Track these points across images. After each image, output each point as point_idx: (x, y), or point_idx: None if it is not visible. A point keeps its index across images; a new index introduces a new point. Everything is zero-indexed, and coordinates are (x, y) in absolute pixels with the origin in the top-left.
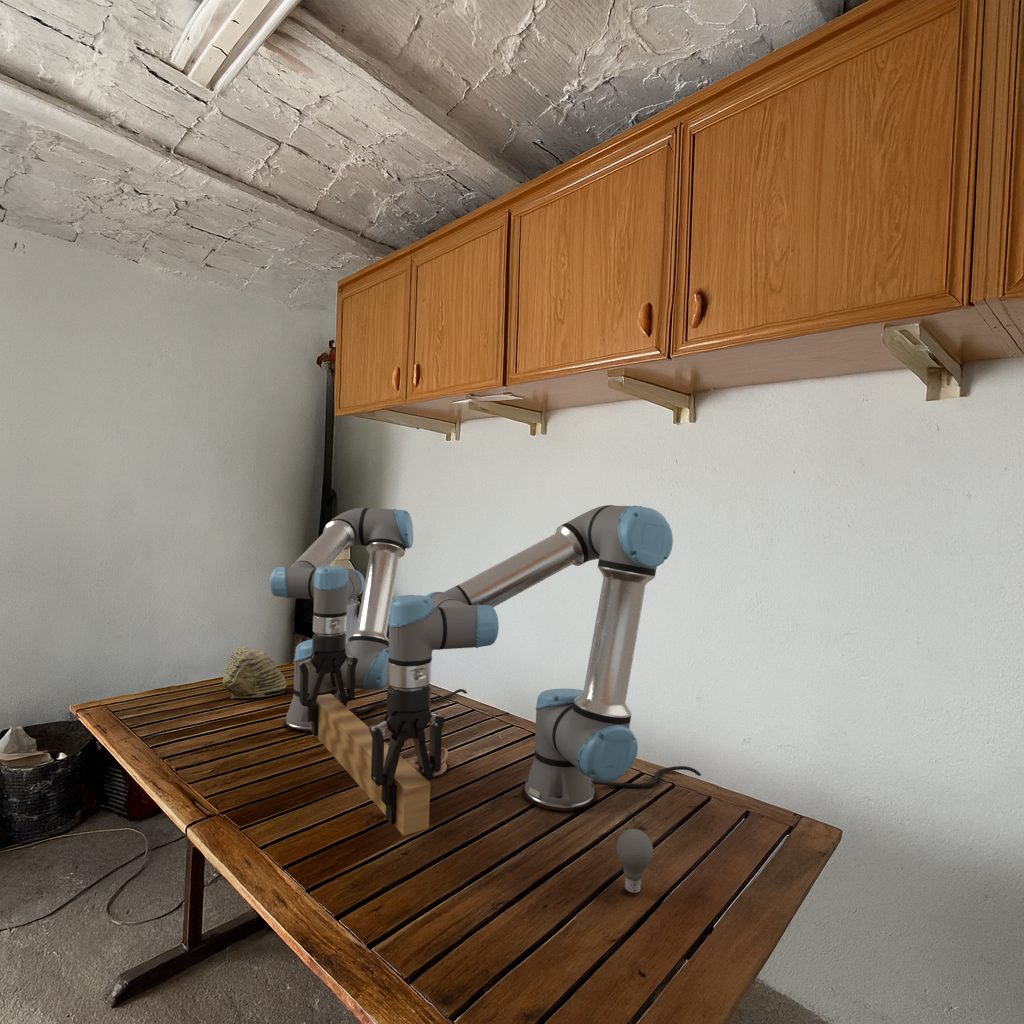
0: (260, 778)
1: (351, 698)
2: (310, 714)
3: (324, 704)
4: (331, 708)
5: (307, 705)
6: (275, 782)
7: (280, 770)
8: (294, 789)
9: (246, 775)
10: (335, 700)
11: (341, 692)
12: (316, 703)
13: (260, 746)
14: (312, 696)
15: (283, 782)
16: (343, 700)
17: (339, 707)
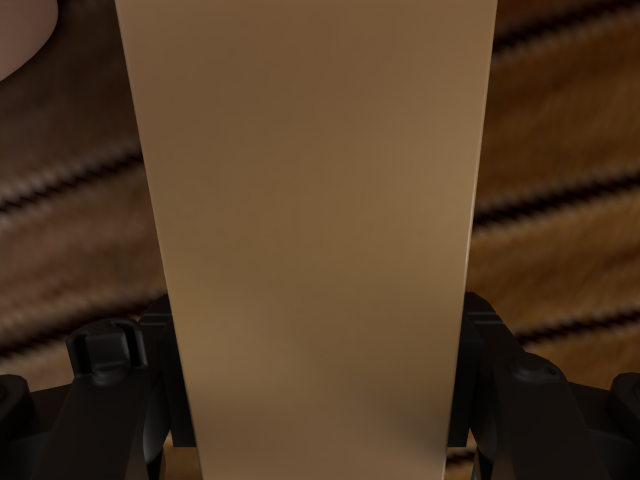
0: (583, 208)
1: (6, 384)
2: (491, 325)
3: (402, 319)
4: (370, 109)
5: (580, 390)
6: (550, 142)
7: (488, 246)
8: (511, 28)
9: (614, 257)
10: (224, 400)
11: (97, 475)
12: (441, 428)
13: (473, 459)
14: (606, 475)
15: (523, 127)
16: (123, 373)
17: (236, 96)
